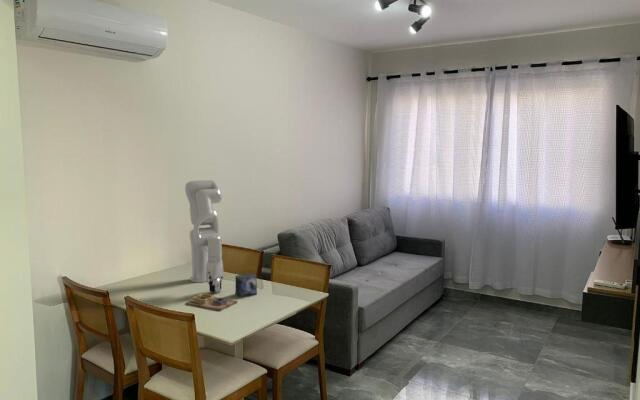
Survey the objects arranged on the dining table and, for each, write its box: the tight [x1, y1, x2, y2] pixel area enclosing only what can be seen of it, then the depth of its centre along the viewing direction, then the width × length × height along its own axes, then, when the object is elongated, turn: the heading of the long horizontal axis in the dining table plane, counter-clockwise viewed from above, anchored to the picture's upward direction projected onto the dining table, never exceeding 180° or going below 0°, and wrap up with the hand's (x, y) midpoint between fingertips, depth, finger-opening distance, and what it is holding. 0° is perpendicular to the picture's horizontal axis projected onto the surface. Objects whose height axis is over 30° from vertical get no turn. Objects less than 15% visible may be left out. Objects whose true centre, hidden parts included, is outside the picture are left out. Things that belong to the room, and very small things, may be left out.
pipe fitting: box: [210, 278, 221, 295], centre depth 268 cm, size 5×5×8 cm
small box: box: [234, 273, 258, 298], centre depth 264 cm, size 11×6×10 cm, turn 117°
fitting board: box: [185, 292, 238, 312], centre depth 249 cm, size 14×22×3 cm, turn 64°
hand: (215, 289), depth 268 cm, fingers closed on pipe fitting, 5 cm apart
